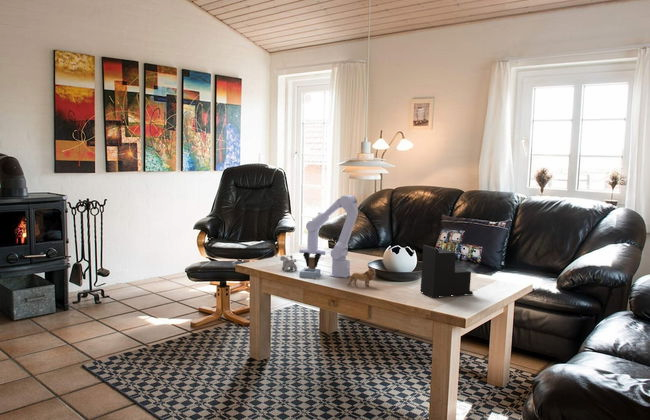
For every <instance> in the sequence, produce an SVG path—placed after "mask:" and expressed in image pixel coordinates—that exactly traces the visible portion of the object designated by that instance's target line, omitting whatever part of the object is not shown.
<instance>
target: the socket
mask: <svg viewBox="0 0 650 420" xmlns="http://www.w3.org/2000/svg"><path fill="white" fill-rule="evenodd" d="M320 276H321V269H320V268H317V269H316V268H315V269H309V268H308V267H304V268H302V269H301V270H300V271H299V278H307V279H317V278H318V277H320Z"/></svg>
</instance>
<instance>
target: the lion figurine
mask: <svg viewBox="0 0 650 420" xmlns="http://www.w3.org/2000/svg"><path fill="white" fill-rule="evenodd" d="M376 273H377V272H376V269H375V268H372V267H370V268H369V269H368V270H367V271H365V272H363V273H358V272H354V273H352V274H350V276H349V277H350V278H349V282H348V284H347V285H346V286H353V285H354V287H356V288H359V287H358V286H359V285H357V282H358V280H359V281H360V282H364V286H365V285H367V286H370V281H373V280H374V278H375V277H376ZM352 283H353V284H352ZM367 286H366V287H367Z"/></svg>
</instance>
